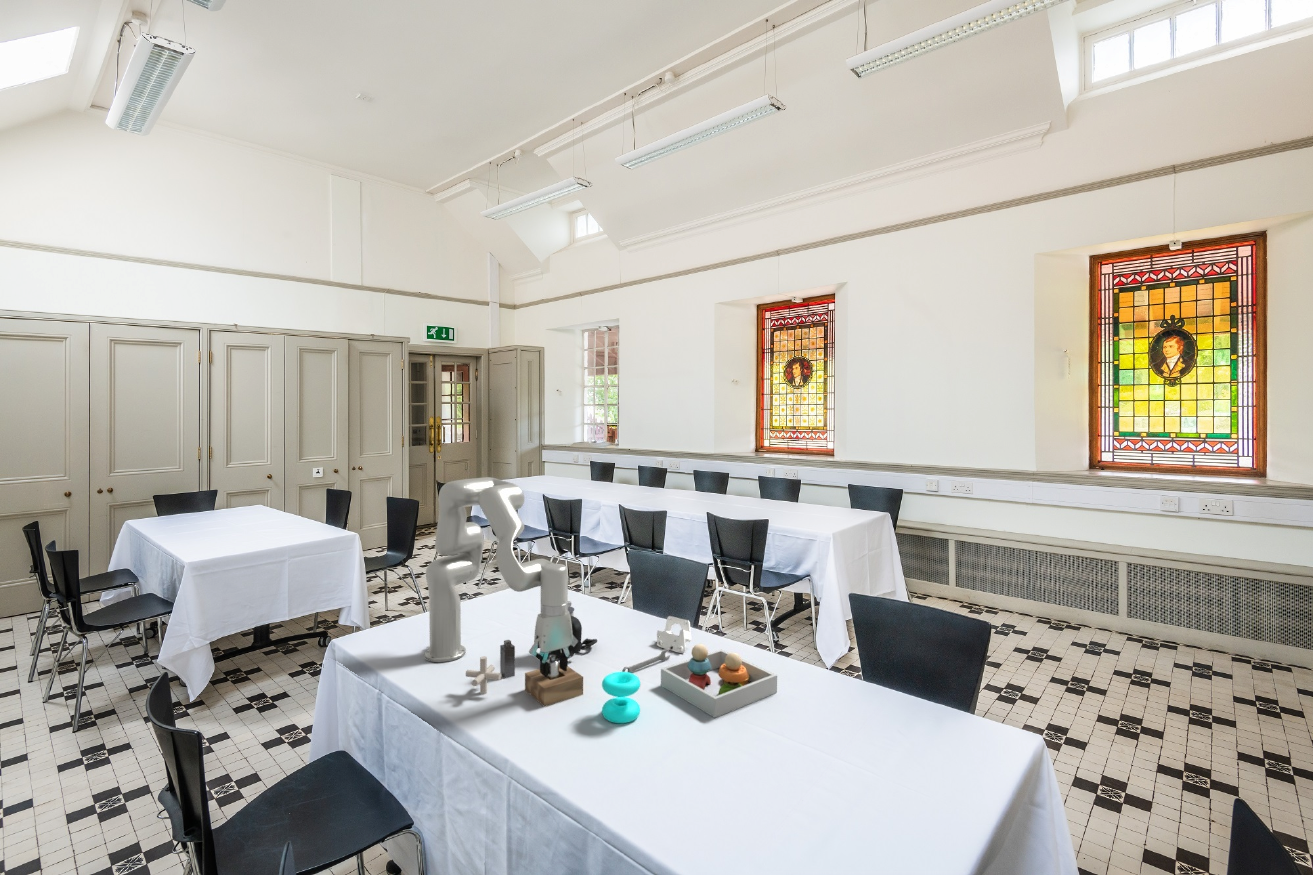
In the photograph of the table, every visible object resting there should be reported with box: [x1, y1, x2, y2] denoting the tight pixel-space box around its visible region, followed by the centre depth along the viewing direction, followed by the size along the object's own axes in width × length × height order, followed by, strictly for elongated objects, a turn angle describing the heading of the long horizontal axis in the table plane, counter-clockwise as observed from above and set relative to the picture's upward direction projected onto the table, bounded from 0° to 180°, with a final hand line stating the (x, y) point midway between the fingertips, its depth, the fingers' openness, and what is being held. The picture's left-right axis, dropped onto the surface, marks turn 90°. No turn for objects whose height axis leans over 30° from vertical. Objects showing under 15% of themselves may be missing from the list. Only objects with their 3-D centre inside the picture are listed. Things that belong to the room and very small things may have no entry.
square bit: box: [499, 639, 516, 679], centre depth 181 cm, size 3×3×10 cm
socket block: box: [524, 663, 584, 707], centre depth 170 cm, size 12×12×5 cm
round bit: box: [546, 655, 559, 680], centre depth 170 cm, size 3×3×10 cm
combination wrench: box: [621, 648, 671, 673], centre depth 188 cm, size 4×1×20 cm
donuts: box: [601, 671, 641, 724], centre depth 158 cm, size 10×10×10 cm
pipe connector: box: [465, 656, 502, 695], centre depth 170 cm, size 10×10×10 cm
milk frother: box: [547, 605, 598, 660], centre depth 199 cm, size 14×16×15 cm
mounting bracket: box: [656, 615, 692, 654], centre depth 205 cm, size 12×6×11 cm, turn 55°
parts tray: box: [660, 649, 778, 719], centre depth 174 cm, size 23×24×5 cm
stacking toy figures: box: [687, 643, 749, 696], centre depth 175 cm, size 18×17×12 cm
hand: (553, 671), depth 170 cm, fingers open, 5 cm apart
